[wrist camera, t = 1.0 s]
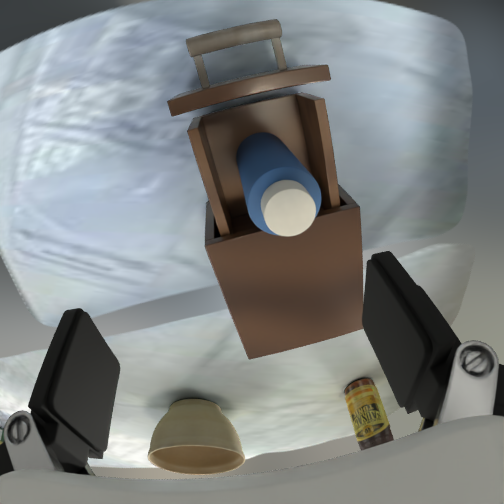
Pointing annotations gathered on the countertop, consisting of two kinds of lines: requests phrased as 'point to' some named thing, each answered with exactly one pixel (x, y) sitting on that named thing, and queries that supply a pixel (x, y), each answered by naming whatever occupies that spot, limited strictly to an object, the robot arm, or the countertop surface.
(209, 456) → the planter bowl
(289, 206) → the bottle
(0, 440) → the coffee jar
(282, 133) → the drawer
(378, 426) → the sauce bottle
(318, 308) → the cabinet
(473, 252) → the countertop surface
